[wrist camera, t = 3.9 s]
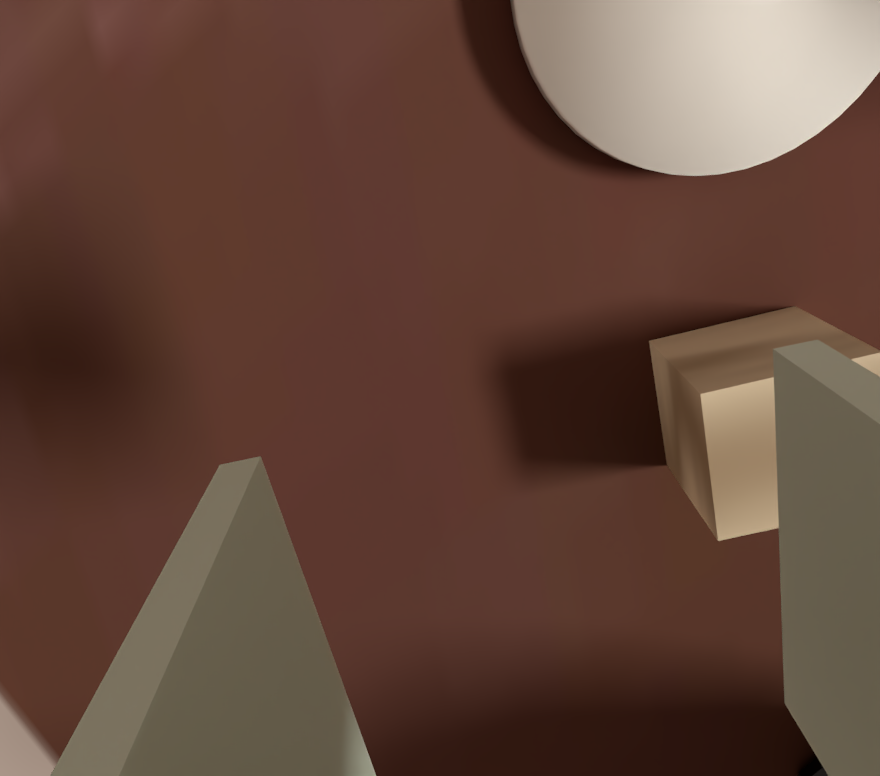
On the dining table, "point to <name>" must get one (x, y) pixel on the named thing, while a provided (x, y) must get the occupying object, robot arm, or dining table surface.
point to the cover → (315, 672)
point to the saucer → (698, 74)
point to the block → (733, 411)
